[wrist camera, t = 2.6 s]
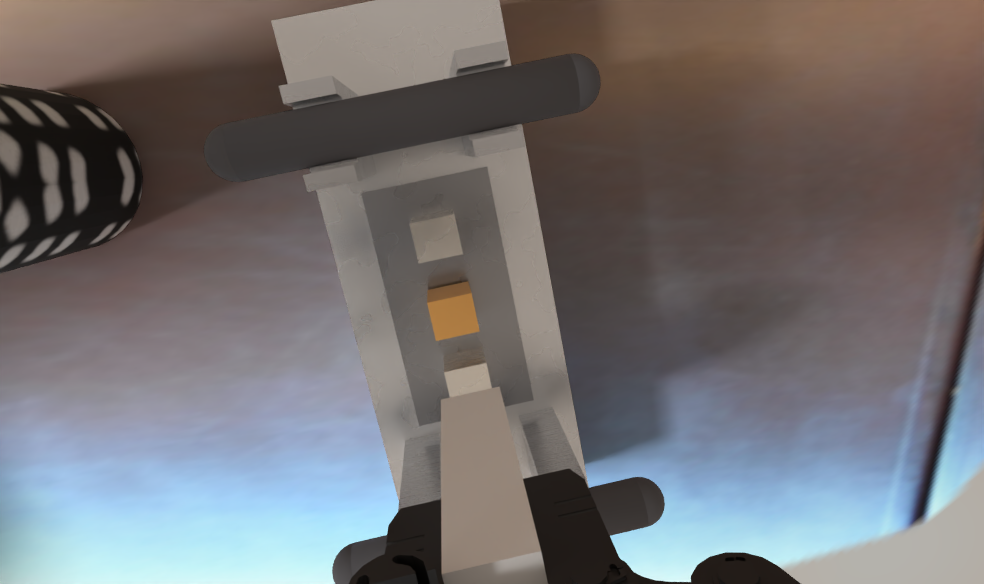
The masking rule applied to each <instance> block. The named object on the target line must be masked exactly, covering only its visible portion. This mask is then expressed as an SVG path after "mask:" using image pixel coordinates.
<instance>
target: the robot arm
mask: <svg viewBox="0 0 984 584" xmlns="http://www.w3.org/2000/svg"><path fill="white" fill-rule="evenodd" d="M386 544H387V546H386V549H385V554H384V555H381V556H378V557H376V558H375V559H373V560H371V561H370V562H368V563H367V564H365V565H363V566H362V567H361V568H360V569H359V570H358V571H357V572H356V573H355V574H354V575H353V576H352V578H351V580H350V582H349V584H800V583H799V582H798V581H796V580H795V579H794V578H793V577H791V576H790V575H789V574H787V573H786V572H785V571H784V570H782V569H781V568H780V567H778V566H777V565H775V564H773V563H772V562H770V561H768V560H766V559H764V558H763V557H759V556H755V555H751V554H747V553H722V554H719V555H715V556H711V557H709V558H707V559H706V560H704V561H703V562H701V563H700V564H698V565H697V567H696V568H695V570H694V572H693V574H692V575H691V582H665V581H655V580H652V579H648V578H645V577H642V576H640V575H638V574H636V573H634V572H633V571H632V570H631V568H630V567H629V566H628V565H627V563H626V562H624V561H622V560H621V559H620V558H619V556H618V554H617V552H616V550H615V547H614V545H613V543H612V540H611V538H610V536H609V534H608V531H607V529H606V527H605V525H604V522H603V520H602V518H601V515H600V513H599V511H598V510H597V506H596V504H595V502H594V500H593V497H592V496H591V493H590V490H589V488H588V486H587V484H586V481H585V479H584V478H582V477H581V476H579V475H578V474H576V473H575V472H574V471H572V470H571V469H569V468H568V469H564V470H559V471H555V472H551V473H546V474H542V475H537V476H533V477H529V478H524V479H523V477H522V473H521V470H520V466H519V462H518V458H517V454H516V450H515V446H514V442H513V438H512V434H511V430H510V426H509V422H508V418H507V414H506V410H505V406H504V402H503V398H502V394H501V390H500V387H495V388H491V389H486V390H482V391H477V392H473V393H468V394H464V395H459V396H455V397H450V398H445V399H441V499H440V500H435V501H431V502H427V503H422V504H418V505H413V506H409V507H405V508H401V509H400V510H399V512H398V513H397V514H396V516H395V517H394V519H393V520H392V522H391V523H390V524H389V527H388V534H387V541H386Z"/></svg>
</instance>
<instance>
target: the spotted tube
mask: <svg viewBox="0 0 984 584" xmlns="http://www.w3.org/2000/svg"><path fill="white" fill-rule="evenodd" d="M141 193H142V172H141V166H140V161H139V158H138V156H137V153H136V150H135V148H134V145H133V144H132V142H131V141H130V139H129V137H128V136H127V134H126V133H125V131H124V130H123V129H122V128H121V127H120V125H119V124H118V123H117V122H116V121H115V120H114V119H113V118H112V117H111V116H109V115H108V114H107V113H106V112H104V111H103V110H102V109H101V108H99V107H97V106H95V105H93V104H92V103H90V102H88V101H86V100H84V99H81V98H78V97H75V96H72V95H69V94H63V93H57V92H50V91H44V90H38V89H31V88H25V87H18V86H12V85H5V84H0V273H3V272H6V271H10V270H14V269H17V268H21V267H24V266H28V265H31V264H35V263H38V262H42V261H45V260H49V259H53V258H56V257H60V256H63V255H67V254H70V253H74V252H77V251H81V250H84V249H88V248H91V247H95V246H99V245H101V244H103V243H105V242H107V241H109V240H111V239H113V238H114V237H115V236H116V235H118V234H119V233H120V232H121V231H122V230H124V228H125V227H126V226H127V225H128V223H129V222H130V221H131V220H132V218H133V216H134V214H135V212H136V210H137V208H138V206H139V202H140V198H141Z"/></svg>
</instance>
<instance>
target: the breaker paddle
mask: <svg viewBox="0 0 984 584" xmlns="http://www.w3.org/2000/svg"><path fill="white" fill-rule="evenodd" d="M427 305H428V309H429V313H430V318H431V322H432V326H433V330H434V335H435V339H436V341H439V340H443V339H448V338H452V337H457V336H461V335H466V334H470V333H475V332H479V331H480V330H479V325H478V321H477V316H476V312H475V307H474V302H473V298H472V293H471V289H470V286H469V282H468V281H467V282H462V283H458V284H453V285H449V286H444V287H439V288H435V289H430V290H428V293H427Z"/></svg>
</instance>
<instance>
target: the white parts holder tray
mask: <svg viewBox="0 0 984 584" xmlns="http://www.w3.org/2000/svg"><path fill="white" fill-rule="evenodd" d="M271 22H272V26H273V30H274V34H275V38H276V41H277V45H278V49H279V53H280V56H281V60H282V64H283V68H284V71H285V75H286V79H287V83H288V84H285V85H280V86H279V89H280V93H281V97H282V100H283V104H285V105H288V106H291V107H293V110H294V109H299V108H304V107H309V106H314V105H319V104H324V103H329V102H334V101H339V100H344V99H349V98H354V97H359V96H363V95H368V94H373V93H378V92H383V91H388V90H393V89H398V88H403V87H408V86H413V85H418V84H423V83H428V82H433V81H438V80H443V79H447V78H452V77H457V76H462V75H467V74H472V73H477V72H482V71H487V70H492V69H497V68H502V67H507V66H511V62H510V56H509V51H508V45H507V40H506V34H505V29H504V23H503V18H502V12H501V7H500V2H499V0H374V1H369V2H364V3H359V4H354V5H349V6H344V7H339V8H333V9H328V10H323V11H318V12H313V13H308V14H303V15H298V16H293V17H288V18H282V19H277V20H272V21H271ZM309 170H310V174H305V175H303V178H304V182H305V186H306V189H307V192H311V191H317V195H318V199H319V203H320V206H321V210H322V214H323V218H324V221H325V225H326V229H327V233H328V236H329V240H330V244H331V248H332V251H333V255H334V259H335V263H336V267H337V270H338V274H339V278H340V282H341V285H342V289H343V293H344V297H345V300H346V304H347V308H348V312H349V315H350V319H351V323H352V327H353V330H354V334H355V338H356V342H357V345H358V349H359V353H360V357H361V360H362V364H363V368H364V372H365V375H366V379H367V383H368V387H369V390H370V394H371V398H372V402H373V405H374V409H375V413H376V417H377V420H378V424H379V428H380V432H381V435H382V439H383V443H384V447H385V450H386V454H387V458H388V462H389V465H390V469H391V473H392V477H393V480H394V484H395V488H396V492H397V496H398V499H399V509H398V512H399V510H400V509H401V508H405V507H409V506H413V505H418V504H422V503H427V502H431V501H435V500H440V499H441V399H445V398H450V397H455V396H459V395H464V394H468V393H473V392H477V391H482V390H486V389H491V388H495V387H500V390H501V394H502V398H503V402H504V406H505V410H506V414H507V418H508V422H509V426H510V430H511V434H512V438H513V442H514V446H515V450H516V454H517V458H518V462H519V466H520V470H521V473H522V477H523V479H524V478H529V477H533V476H537V475H542V474H546V473H551V472H555V471H559V470H564V469H568V468H569V469H571V470H572V471H574V472H575V473H576V474H578V475H579V476H581V477H582V478H584V479H585V481H586V484H587V486H588V482H587V476H586V471H585V465H584V460H583V454H582V449H581V443H580V438H579V432H578V427H577V422H576V416H575V411H574V405H573V400H572V394H571V389H570V383H569V378H568V372H567V367H566V362H565V356H564V351H563V345H562V340H561V334H560V329H559V323H558V318H557V312H556V307H555V302H554V296H553V291H552V285H551V280H550V274H549V269H548V263H547V258H546V252H545V247H544V242H543V236H542V231H541V225H540V220H539V214H538V209H537V203H536V198H535V192H534V187H533V182H532V176H531V171H530V165H529V160H528V154H527V149H526V143H525V138H524V132H523V127H522V124H519V125H514V126H509V127H504V128H499V129H494V130H490V131H485V132H480V133H475V134H470V135H465V136H460V137H456V138H451V139H446V140H441V141H436V142H431V143H427V144H422V145H417V146H412V147H407V148H402V149H398V150H393V151H388V152H383V153H378V154H373V155H369V156H364V157H359V158H354V159H349V160H344V161H340V162H335V163H330V164H325V165H320V166H315V167H311V168H309ZM467 281H468V282H469V286H470V289H471V293H472V298H473V302H474V307H475V312H476V316H477V321H478V325H479V330H480V331H479V332H475V333H470V334H466V335H461V336H457V337H452V338H448V339H443V340H439V341H436V339H435V335H434V330H433V326H432V322H431V318H430V313H429V309H428V305H427V293H428V290H430V289H435V288H439V287H444V286H449V285H453V284H458V283H462V282H467ZM588 488H589V487H588Z"/></svg>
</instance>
